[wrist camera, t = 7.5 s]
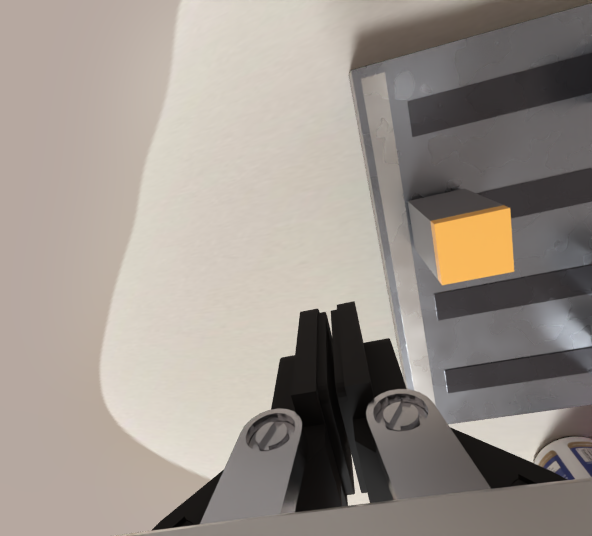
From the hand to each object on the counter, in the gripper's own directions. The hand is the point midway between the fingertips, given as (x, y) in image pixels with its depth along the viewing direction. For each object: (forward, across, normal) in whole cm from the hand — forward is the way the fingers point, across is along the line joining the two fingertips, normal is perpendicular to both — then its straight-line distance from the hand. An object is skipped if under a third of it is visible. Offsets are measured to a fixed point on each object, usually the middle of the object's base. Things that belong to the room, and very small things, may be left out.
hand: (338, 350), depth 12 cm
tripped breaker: (+11, -6, 0) cm, 13 cm away
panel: (+13, -12, +3) cm, 18 cm away
